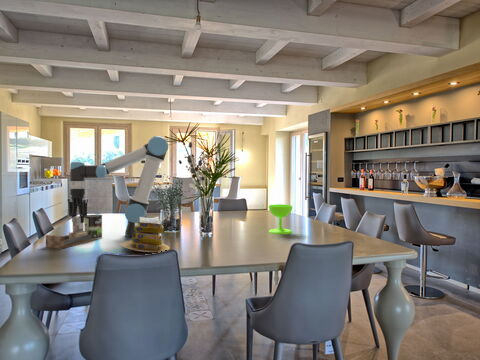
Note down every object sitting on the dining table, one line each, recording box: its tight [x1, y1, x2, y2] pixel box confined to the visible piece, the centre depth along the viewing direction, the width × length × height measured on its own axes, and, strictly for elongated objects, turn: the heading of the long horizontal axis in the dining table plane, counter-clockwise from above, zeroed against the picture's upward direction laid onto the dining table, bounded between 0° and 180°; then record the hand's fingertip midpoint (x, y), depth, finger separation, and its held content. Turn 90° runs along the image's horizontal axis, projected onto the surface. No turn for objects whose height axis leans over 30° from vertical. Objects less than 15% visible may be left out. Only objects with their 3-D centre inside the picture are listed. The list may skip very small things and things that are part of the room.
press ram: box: [68, 215, 88, 239], centre depth 200 cm, size 8×7×13 cm
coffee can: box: [84, 214, 103, 241], centre depth 211 cm, size 10×10×14 cm
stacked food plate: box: [121, 216, 170, 253], centre depth 182 cm, size 25×25×17 cm
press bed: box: [45, 234, 93, 250], centre depth 195 cm, size 12×21×6 cm, turn 158°
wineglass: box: [268, 203, 293, 235], centre depth 232 cm, size 16×16×18 cm
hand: (78, 228), depth 200 cm, fingers closed on press ram, 4 cm apart
